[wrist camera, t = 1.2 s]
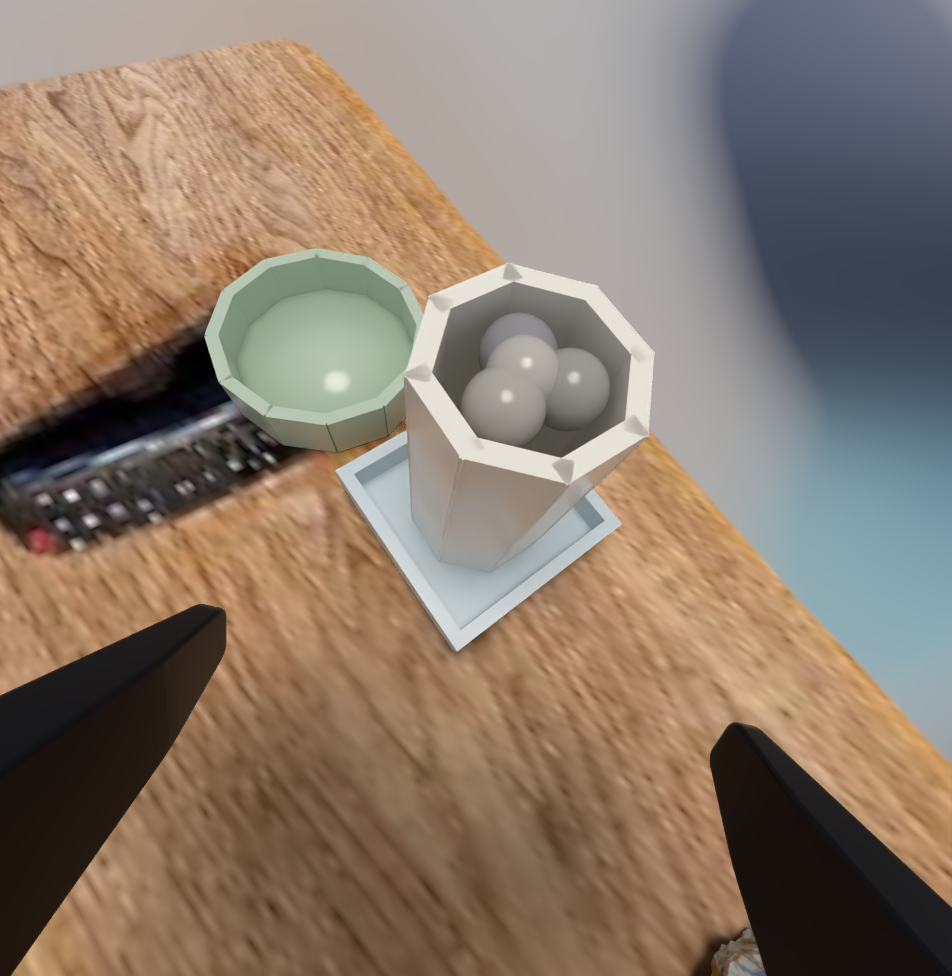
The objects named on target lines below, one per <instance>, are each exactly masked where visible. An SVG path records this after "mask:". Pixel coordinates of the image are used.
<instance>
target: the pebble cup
mask: <svg viewBox="0 0 952 976" xmlns="http://www.w3.org/2000/svg"><path fill="white" fill-rule="evenodd" d="M654 355H655V353H654V351H653V350H651V348H650V347H649V346H648V345H647V344H646V343H645V342H644V340H643V339H642V338H641V337H640V336H639V335H638V333H637V332H636V331H635V330H634V329H633V328H632V326H631V325H630V324H629V323H628V322H627V321H626V319H625V318H624V317H623V316H622V315H621V314H620V313H619V311H617V309H616V308H615V307H614V306H613V304H612V303H611V302H610V301H609V300H608V299H607V298H606V296H605V295H604V294H603V293H602V292H601V291H600V289H599V288H598V286H596V285H592V284H588V283H584V282H580V281H576V280H572V279H569V278H565V277H561V276H557V275H553V274H549V273H545V272H541V271H538V270H534V269H530V268H526V267H522V266H518V265H514V264H511V263H506V264H505V265H502V266H500V267H497V268H495V269H493V270H490V271H488V272H485V273H483V274H481V275H478V276H476V277H473V278H471V279H468V280H466V281H464V282H461V283H459V284H456V285H454V286H452V287H449V288H447V289H444V290H442V291H440V292H437V293H435V294H430V296H428V303H427V306H426V309H425V312H424V316H423V319H422V322H421V325H420V328H419V331H418V334H417V337H416V341H415V344H414V347H413V350H412V353H411V356H410V359H409V363H408V366H407V369H406V372H404V373H403V375H404V393H405V411H406V429H407V447H408V465H409V483H410V501H411V517H412V519H413V521H414V522H415V524H416V525H417V527H418V529H419V530H420V532H421V533H422V535H423V537H424V538H425V540H426V542H427V543H428V545H429V546H430V548H431V550H432V551H433V553H434V554H435V556H436V558H437V559H438V561H439V562H444V563H448V564H453V565H457V566H461V567H466V568H470V569H474V570H479V571H483V572H487V573H492V571H494V570H495V569H497V568H498V567H500V566H501V565H503V564H504V563H506V562H507V561H509V560H510V559H512V558H514V557H515V556H517V555H518V554H520V553H521V552H523V551H524V550H526V549H527V548H529V547H532V546H533V545H534V544H535V543H536V542H537V541H538V540H539V539H540V538H541V537H542V536H543V535H544V534H546V533H547V532H548V531H549V530H550V529H551V528H552V527H553V526H554V525H555V524H556V523H557V522H558V521H559V520H560V519H561V518H563V517H564V516H565V515H566V514H567V513H568V512H569V511H570V510H571V509H572V508H573V507H574V506H575V505H576V504H577V503H578V502H580V501H581V500H582V499H583V498H584V497H585V496H586V495H587V494H588V493H589V492H590V491H591V490H592V489H593V488H594V487H595V486H597V485H598V484H599V483H600V482H601V481H602V480H603V479H604V478H605V477H606V476H607V475H608V474H609V473H610V472H611V471H613V470H614V469H615V468H616V467H617V466H618V465H619V464H620V463H621V462H622V461H623V460H624V459H625V458H626V457H627V456H628V455H630V454H631V453H632V452H633V451H634V450H635V449H636V448H637V447H638V446H639V445H640V444H641V443H642V442H643V441H644V440H645V439H647V438H648V435H649V434H650V433H649V432H648V431H649V417H650V403H651V402H650V401H651V389H652V374H653V361H654Z"/></svg>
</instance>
